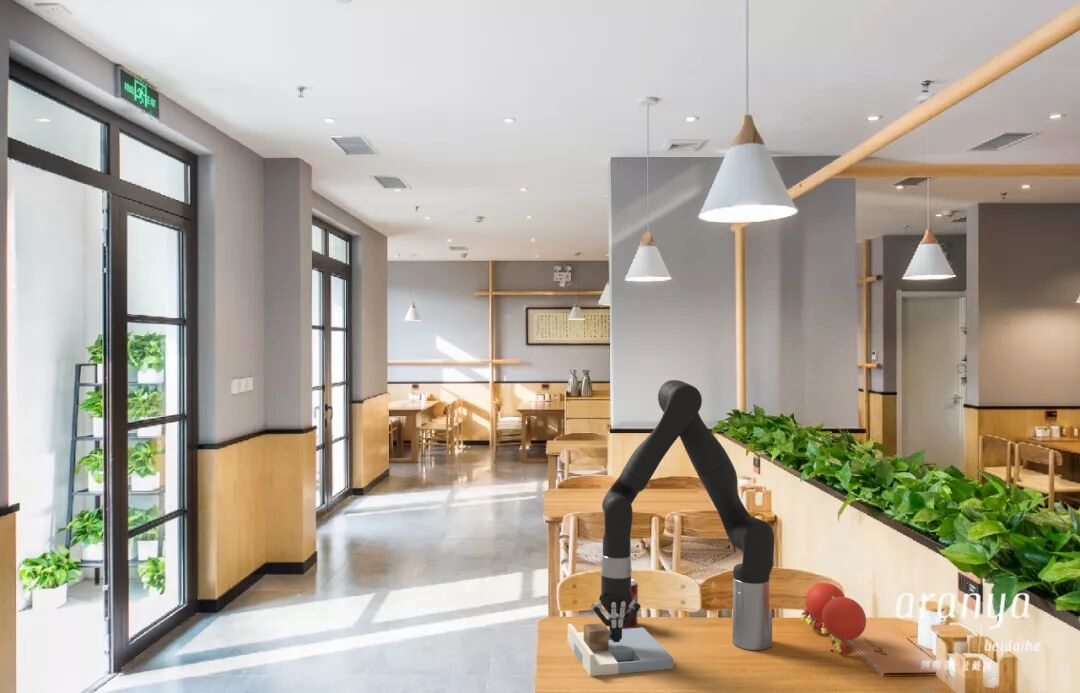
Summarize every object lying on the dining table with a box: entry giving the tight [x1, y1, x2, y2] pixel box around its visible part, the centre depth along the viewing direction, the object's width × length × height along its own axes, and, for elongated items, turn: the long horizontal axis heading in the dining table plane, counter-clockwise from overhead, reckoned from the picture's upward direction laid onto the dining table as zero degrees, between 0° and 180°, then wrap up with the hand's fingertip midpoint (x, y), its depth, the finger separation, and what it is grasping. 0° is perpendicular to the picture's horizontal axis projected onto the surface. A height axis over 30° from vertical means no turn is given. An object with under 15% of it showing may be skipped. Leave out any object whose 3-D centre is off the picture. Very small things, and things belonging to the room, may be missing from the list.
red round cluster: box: [800, 582, 867, 653], centre depth 208 cm, size 25×11×16 cm, turn 8°
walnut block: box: [583, 622, 610, 652], centre depth 197 cm, size 5×5×5 cm
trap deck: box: [567, 627, 674, 677], centre depth 199 cm, size 21×21×2 cm
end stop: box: [567, 623, 594, 666], centre depth 196 cm, size 1×21×2 cm, turn 13°
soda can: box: [622, 579, 639, 629], centre depth 220 cm, size 7×7×12 cm
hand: (615, 641), depth 198 cm, fingers closed
